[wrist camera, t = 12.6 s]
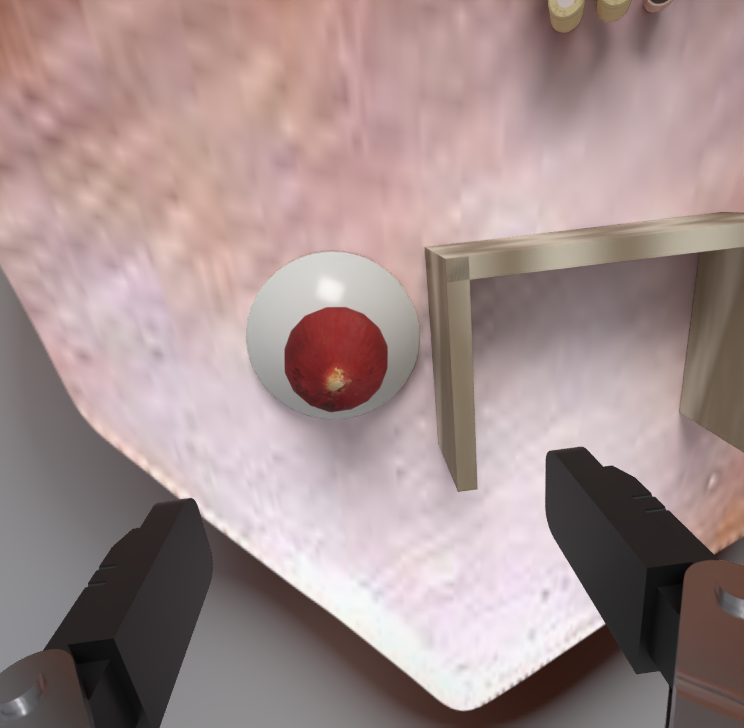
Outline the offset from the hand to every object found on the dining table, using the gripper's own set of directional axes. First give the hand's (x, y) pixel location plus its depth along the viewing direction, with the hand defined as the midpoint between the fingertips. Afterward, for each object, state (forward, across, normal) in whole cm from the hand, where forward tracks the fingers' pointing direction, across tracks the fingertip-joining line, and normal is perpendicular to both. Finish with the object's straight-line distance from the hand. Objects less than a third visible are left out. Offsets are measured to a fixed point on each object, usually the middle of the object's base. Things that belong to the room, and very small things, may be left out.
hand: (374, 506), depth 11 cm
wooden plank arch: (+21, -14, +4) cm, 26 cm away
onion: (+20, +2, +2) cm, 20 cm away
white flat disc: (+21, +2, +2) cm, 21 cm away
